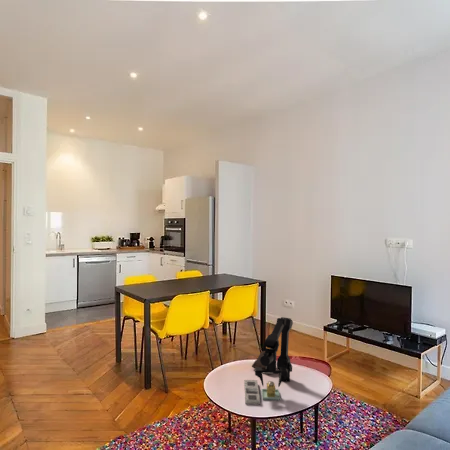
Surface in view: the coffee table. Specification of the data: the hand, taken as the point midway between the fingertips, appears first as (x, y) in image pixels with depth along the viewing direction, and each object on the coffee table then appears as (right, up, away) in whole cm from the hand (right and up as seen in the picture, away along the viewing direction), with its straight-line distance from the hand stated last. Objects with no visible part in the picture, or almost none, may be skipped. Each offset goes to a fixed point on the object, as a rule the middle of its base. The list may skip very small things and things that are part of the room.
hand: (270, 386), depth 208 cm
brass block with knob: (0, -5, 0) cm, 5 cm away
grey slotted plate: (-11, -5, +2) cm, 12 cm away
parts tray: (0, -6, 0) cm, 6 cm away
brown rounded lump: (+1, -5, +37) cm, 38 cm away
